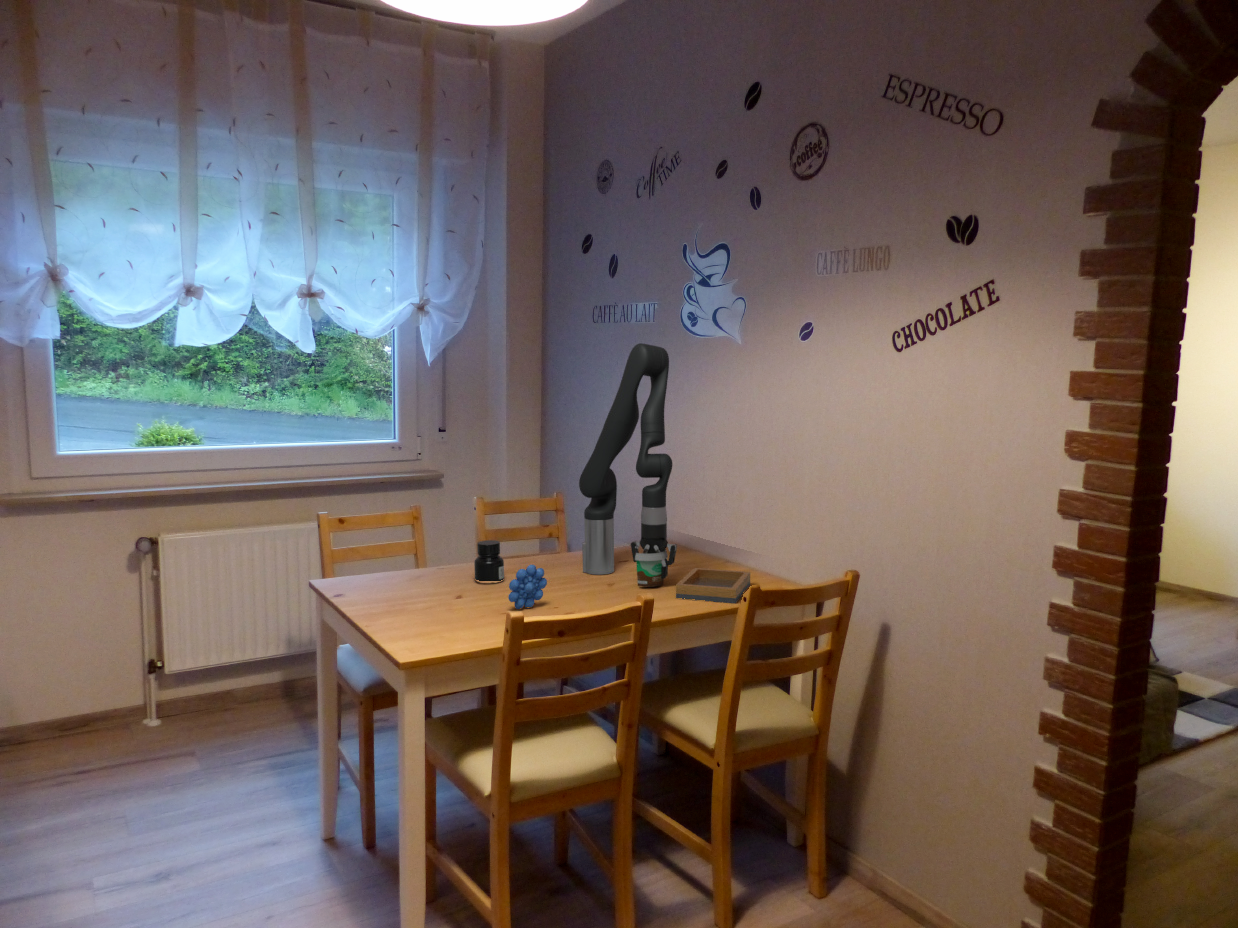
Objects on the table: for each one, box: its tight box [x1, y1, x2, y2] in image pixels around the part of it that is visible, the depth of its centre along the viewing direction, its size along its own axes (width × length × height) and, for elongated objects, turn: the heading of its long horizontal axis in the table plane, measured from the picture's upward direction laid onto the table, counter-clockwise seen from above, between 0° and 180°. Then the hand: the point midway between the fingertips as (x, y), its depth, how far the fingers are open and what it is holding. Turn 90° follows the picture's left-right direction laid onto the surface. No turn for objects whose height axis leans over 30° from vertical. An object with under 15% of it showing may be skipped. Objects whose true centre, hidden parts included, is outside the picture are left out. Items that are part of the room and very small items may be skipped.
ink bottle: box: [473, 539, 505, 581], centre depth 277 cm, size 10×9×12 cm
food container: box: [635, 548, 669, 588], centre depth 269 cm, size 12×6×10 cm, turn 143°
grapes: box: [507, 564, 548, 610], centre depth 248 cm, size 12×7×12 cm, turn 123°
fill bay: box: [675, 567, 751, 605], centre depth 263 cm, size 17×21×4 cm
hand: (653, 577), depth 270 cm, fingers closed on food container, 5 cm apart
